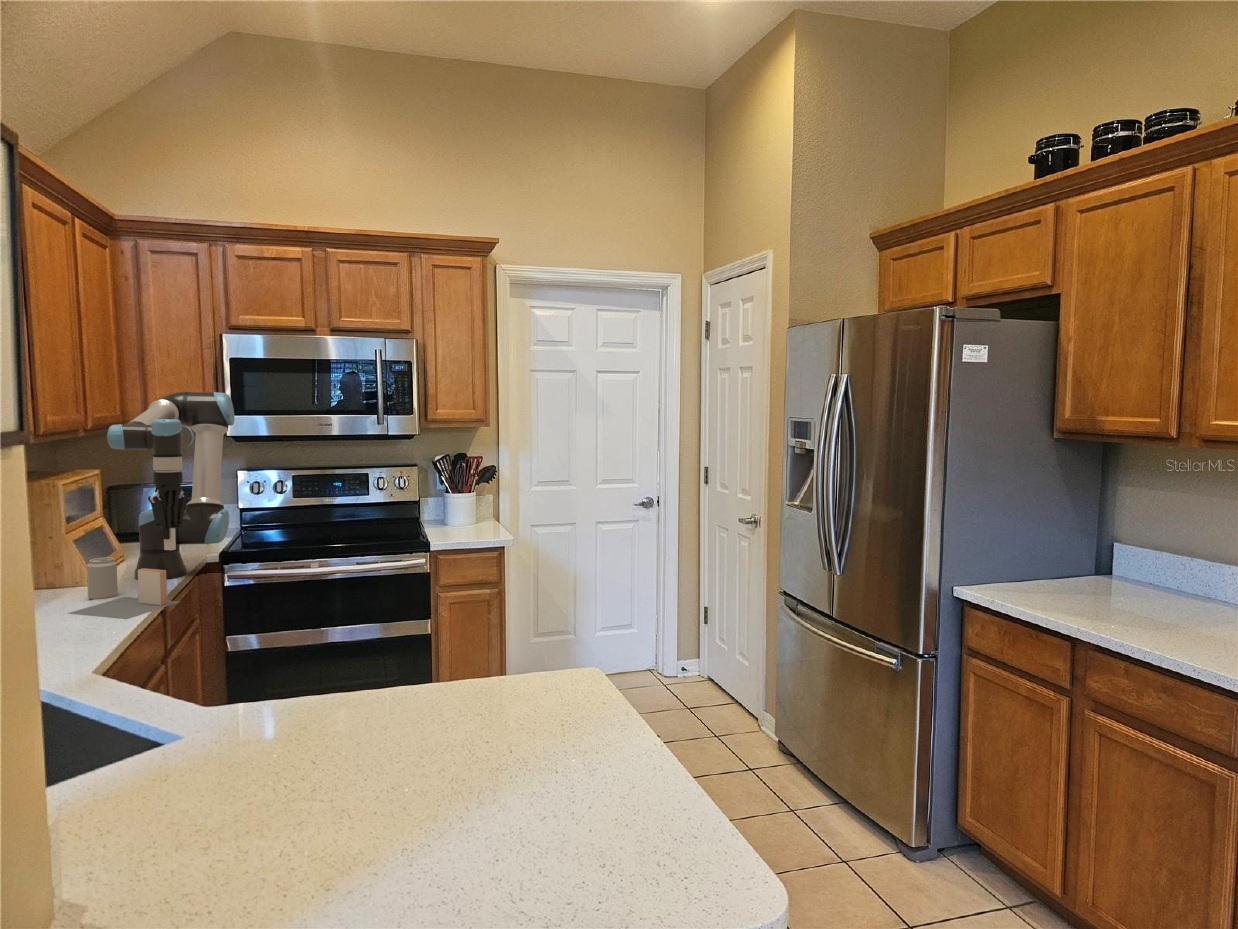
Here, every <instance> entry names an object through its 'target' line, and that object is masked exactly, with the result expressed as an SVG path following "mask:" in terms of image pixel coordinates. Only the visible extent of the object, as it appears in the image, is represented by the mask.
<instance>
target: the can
mask: <svg viewBox="0 0 1238 929" xmlns="http://www.w3.org/2000/svg"><path fill="white" fill-rule="evenodd" d="M88 562H89V563H88V564H87V565H86V580H87V597H88V598H89V599H90V600H92V601H94V600H100V599H109V598H113V597H116V596H117V595H118V594H119V590H118V567H117V566H118V564H117V562H116V561H115V558H114V557H110V556H109V557H107V556H106V557H96V558H91V559H89V560H88Z"/></svg>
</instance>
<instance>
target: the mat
mask: <svg viewBox="0 0 1238 929" xmlns="http://www.w3.org/2000/svg"><path fill="white" fill-rule="evenodd" d="M178 603H180V601H178V600H177V601H175V600H167V604H165V605H162V606H161V605H150V604H140V603H139V597H133V596H132V597H131V596H130V597H129V596H124V597H119V598H117V599H112V600H108V601H106V602H102V603H99V604H98V603H97V604H96V605H92V606H89V607H83V608H81V609H76V610H73V611H70V612H67V613H66V614H68V615H78V616H89V617H90V616H91V617H98V618H99V617H100V618H108V619H109V618H110V619H121V620H128V619H131V618H132V619H133V618H135V617H138V616H141V615H144V614H147V613H151V612H154V611H157V610H159V609H160V610H161V609H164V608H167V607H168V606H170V607H171V606H172V605H175V604H178Z"/></svg>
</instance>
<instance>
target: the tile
mask: <svg viewBox="0 0 1238 929" xmlns="http://www.w3.org/2000/svg"><path fill="white" fill-rule="evenodd" d="M167 582H168V581H167V579H166V570H158V569H145V568H143V569H139V570H138V579H137V587H138V588H137V590H138V591H137V592H138V595H137V596H138V598H139V603H140V604H150V605H161V606H162V605H165V604H167V601H168V590H167V589H168V586H167V585H168V584H167Z"/></svg>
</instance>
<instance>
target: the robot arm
mask: <svg viewBox="0 0 1238 929" xmlns="http://www.w3.org/2000/svg"><path fill="white" fill-rule="evenodd" d="M234 424H235V411H234V405H233V401H232V398H231V396H230V395H229V394H227V393H225V392H217V391H211V392H209V391H208V392H207V391H206V392H205V391H178V392H174V393H173V392H172V393H170V394H167V395H164V396H161V397H159V398H157V399H155V400H154V401H151V403H150V404H149V406H148V408H147V409H146V410H145V411H143V412H142V413H141V414H139V415H138V416H136V417H134V418H133V419H132V420H131V421H129V422H128V423H126V424H121V423H120V424H112V425H111V426H109V428H108V429H107V434H106V438H107V443H108V445H109V447H110V448H111V449H113V450H123V451H125V450H152V469H153V471H154V472H153V473H152V476H153V477H152V478H153V479H152V480H153V485H155V489H154V493H153V495H152V496H151V495H149V496H148V497H147V500H148V501H149V504H150V505H151V508H150V509H146V510H143V511H142V512H140V514H139V515H138V517H139V518H138V533H139V557H138V560H137V564H136V568H135V570H134V579H136V580H138V570H139V569H143V568H145V569H158V570H166V580H168V579H175V578H179V577H183V576H184V575H186V574H187V565H186V564H185V563H184V560H183V556H182V554H181V551H180V549H181V547H180V545H182V546H183V545H211V544H219V543H221V542H223V541H224V539H225V538H226V536H227V533H228V530H229V525H230V513H229V511H228V510H227V509H225V505H224V503H222V501H221V500H220V497H221V479H222V462H223V448H224V447H223V443H224V435H225V434H226V433H227V432H229V426H233V425H234ZM186 425H187V426H186ZM190 425H191V426H190ZM189 426H190V427H191V428H190V427H189ZM194 433H195V434H194ZM194 439H195V440H194ZM194 441H195V443H194ZM193 443H194V456H193V457H194V458H193V470H192V471H193V472H192V489H191V491H192V492H191V499H190V500H189V501H188V502H187V503H186V501H187V499H188V496H189V493H188V492H186V491H185V492H184V491H183V490H182V485H181V484H183V481H184V480H183V476H184V475H183V471H182V470H183V452H182V451H183V450H184V449H186V448H189V447H190V446H191V445H192V444H193Z"/></svg>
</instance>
